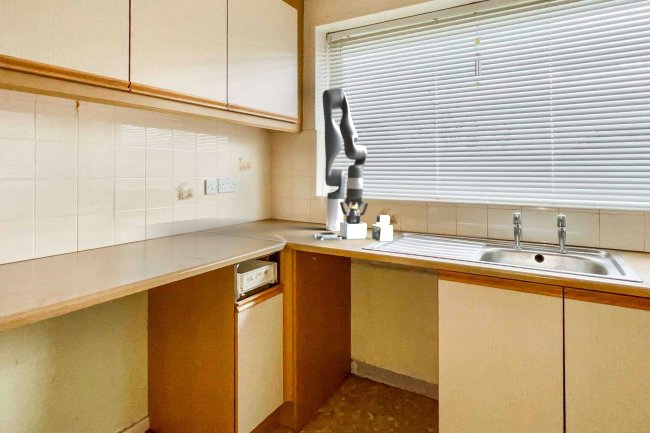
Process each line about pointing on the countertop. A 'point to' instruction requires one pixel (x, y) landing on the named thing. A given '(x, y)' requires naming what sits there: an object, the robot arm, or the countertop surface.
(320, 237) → the mount
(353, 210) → the black and gold cylinder
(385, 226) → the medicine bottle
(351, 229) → the bin
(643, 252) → the countertop surface
